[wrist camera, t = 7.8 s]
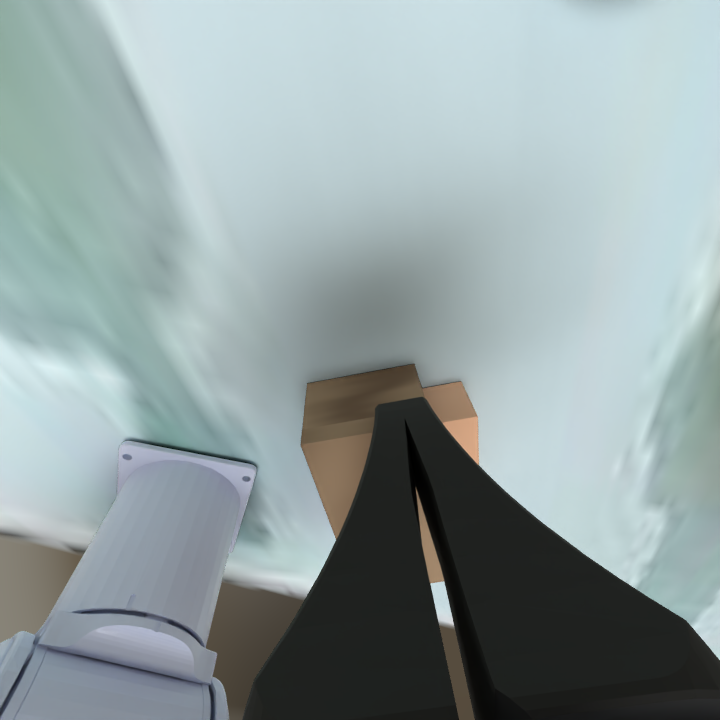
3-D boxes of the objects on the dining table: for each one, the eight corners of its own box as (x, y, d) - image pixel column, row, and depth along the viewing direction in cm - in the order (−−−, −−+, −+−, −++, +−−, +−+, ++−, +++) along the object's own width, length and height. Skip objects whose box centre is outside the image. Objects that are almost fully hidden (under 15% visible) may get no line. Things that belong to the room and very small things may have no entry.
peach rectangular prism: (461, 381, 22) (477, 416, 19) (466, 493, 27) (480, 532, 25) (340, 403, 22) (340, 440, 20) (369, 509, 28) (373, 549, 25)
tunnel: (414, 363, 21) (432, 421, 17) (433, 515, 28) (449, 580, 24) (307, 383, 21) (300, 444, 17) (353, 527, 29) (356, 594, 25)
